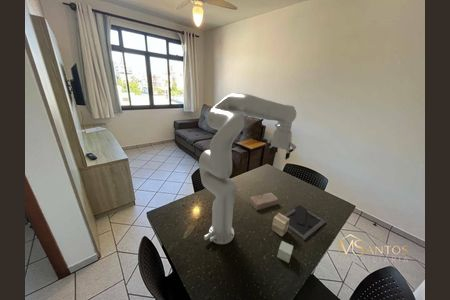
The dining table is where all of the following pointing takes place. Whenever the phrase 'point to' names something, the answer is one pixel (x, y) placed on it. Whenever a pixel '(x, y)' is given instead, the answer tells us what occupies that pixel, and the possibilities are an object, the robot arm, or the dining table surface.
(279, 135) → the robot arm
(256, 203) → the brick
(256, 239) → the dining table surface
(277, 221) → the maple block
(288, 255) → the sage block
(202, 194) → the dining table surface
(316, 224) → the picture frame
